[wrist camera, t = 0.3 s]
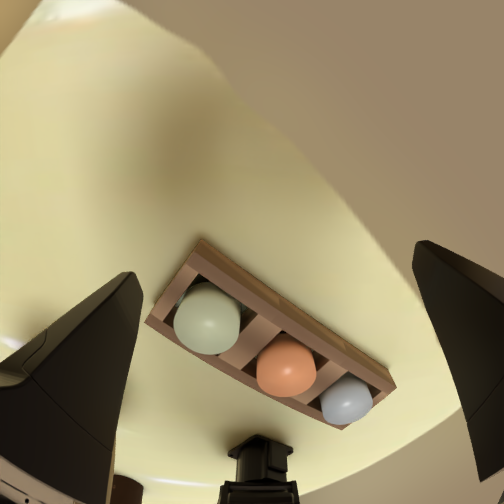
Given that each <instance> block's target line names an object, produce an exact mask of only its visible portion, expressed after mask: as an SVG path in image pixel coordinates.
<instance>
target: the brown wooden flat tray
mask: <svg viewBox="0 0 504 504" xmlns="http://www.w3.org/2000/svg"><path fill="white" fill-rule="evenodd" d="M198 273H199V274H201V275H202V276H204V277H205V278H207V279H208V280H209V281H211V282H212V283H214V284H215V285H217V286H218V287H219V288H221V289H222V290H224V291H225V292H227V293H228V294H230V295H231V296H233V297H234V298H236V299H237V300H238V301H240V302H241V303H243V304H244V305H246V306H247V307H248V308H247V310H246V311H245V312H244V313H243V314H242V315H241V318H240V328H239V335H238V338H237V341H236V342H235V344H234V345H233V346H232V347H231V348H230V349H228V350H227V351H225V352H222V353H219V354H213V355H208V354H201V353H197V352H195V351H192V350H191V349H189V348H187V347H186V346H185V345H184V344H182V342H181V341H180V340H179V339H178V337H177V335H176V333H175V331H174V317H175V315H176V313H177V310H178V308H176V307H175V306H174V305H175V304H176V302H177V301H178V300H179V298H180V297H181V296H182V294H183V293H184V292H185V290H186V289H187V288H188V286H189V285H190V284H191V282H192V281H193V280H194V278H195V277H196V276H197V274H198ZM144 323H146V324H147V325H149V326H150V327H151V328H153V329H154V330H156V331H157V332H159V333H160V334H162V335H163V336H165V337H166V338H168V339H170V340H171V341H173V342H174V343H176V344H177V345H179V346H180V347H182V348H184V349H185V350H187V351H188V352H190V353H192V354H193V355H195V356H197V357H198V358H200V359H201V360H203V361H205V362H206V363H208V364H210V365H212V366H213V367H215V368H217V369H218V370H220V371H222V372H224V373H225V374H227V375H229V376H231V377H232V378H234V379H236V380H238V381H240V382H242V383H243V384H245V385H247V386H249V387H251V388H253V389H255V390H256V391H258V392H260V393H262V394H264V395H266V396H268V397H270V398H272V399H274V400H276V401H278V402H280V403H282V404H284V405H286V406H288V407H290V408H292V409H295V410H297V411H299V412H301V413H303V414H305V415H307V416H310V417H312V418H314V419H316V420H319V421H321V422H323V423H325V424H328V425H330V426H332V427H335V428H337V429H340V430H343V429H344V428H346V427H347V426H348V425H350V424H351V423H349V424H343V425H336V424H331V423H329V422H327V421H326V420H325V419H324V417H323V412H322V408H321V403H320V398H319V394H321V393H322V392H323V391H324V390H326V389H327V388H328V387H329V386H330V385H332V384H333V383H334V382H335V381H336V380H338V379H339V378H340V377H341V376H342V375H343V374H345V373H346V372H347V371H349V372H351V373H352V374H354V375H356V376H357V377H359V378H361V379H362V380H364V381H365V382H366V384H367V387H368V389H369V392H370V394H371V397H372V400H373V405H372V408H373V407H374V406H375V405H376V404H378V403H379V402H380V401H381V400H383V399H384V398H385V397H386V396H388V395H389V394H390V393H391V392H392V391H394V390H395V389H396V388H397V387H396V385H395V383H394V381H393V379H392V377H391V375H390V373H389V370H388V369H386V368H385V367H383V366H382V365H380V364H379V363H377V362H376V361H374V360H373V359H371V358H370V357H368V356H367V355H366V354H364V353H363V352H361V351H360V350H358V349H357V348H355V347H354V346H352V345H351V344H349V343H348V342H346V341H345V340H344V339H342V338H341V337H339V336H338V335H336V334H335V333H333V332H332V331H330V330H329V329H328V328H326V327H325V326H323V325H322V324H320V323H319V322H317V321H316V320H315V319H313V318H312V317H310V316H309V315H307V314H306V313H305V312H303V311H302V310H300V309H299V308H297V307H296V306H295V305H293V304H292V303H290V302H289V301H287V300H286V299H285V298H283V297H282V296H280V295H279V294H277V293H276V292H275V291H273V290H272V289H270V288H269V287H268V286H266V285H265V284H263V283H262V282H261V281H259V280H258V279H256V278H255V277H253V276H252V275H251V274H249V273H248V272H246V271H245V270H244V269H242V268H241V267H239V266H238V265H237V264H235V263H234V262H233V261H231V260H230V259H228V258H227V257H226V256H224V255H223V254H221V253H220V252H219V251H217V250H216V249H214V248H213V247H212V246H210V245H209V244H208V243H206V242H205V241H203V240H202V239H201V240H200V242H199V243H198V245H197V246H196V247H195V249H194V250H193V251H192V253H191V254H190V256H189V257H188V258H187V260H186V261H185V262H184V264H183V265H182V267H181V268H180V269H179V271H178V272H177V274H176V275H175V276H174V278H173V279H172V281H171V282H170V284H169V285H168V286H167V288H166V289H165V291H164V292H163V294H162V295H161V296H160V298H159V299H158V301H157V302H156V304H155V305H154V307H153V308H152V310H151V312H150V313H149V315H148V317H147V318H146V320H145V322H144ZM281 330H284V331H285V332H287V333H288V334H290V335H291V336H293V337H294V338H296V339H298V340H299V341H301V342H302V343H304V344H305V345H307V346H309V347H310V348H312V349H313V350H314V351H313V352H312V355H313V359H314V364H315V368H316V379H315V381H314V383H313V384H312V386H311V387H310V388H309V389H307V390H306V391H304V392H303V393H301V394H298V395H295V396H291V397H277V396H273V395H270V394H268V393H266V392H264V391H263V390H262V389H261V388H260V386H259V385H258V383H257V359H256V358H255V356H256V355H257V354H258V353H259V352H260V351H261V350H262V349H263V348H264V347H265V346H266V345H267V344H268V343H269V342H270V341H271V340H272V339H273V338H274V337H275V336H276V335H277V334H278V333H279V332H280V331H281ZM352 423H353V422H352Z"/></svg>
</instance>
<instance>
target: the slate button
mask: <svg viewBox="0 0 504 504" xmlns="http://www.w3.org/2000/svg"><path fill="white" fill-rule="evenodd" d="M319 398H320V403H321V408H322V412H323V417H324V419H325V420H326V421H327V422H329V423H331V424H336V425H343V424H349V423H352V422H355V421H357V420H359V419H361V418H362V417H364V416H365V415H366V414H367V413H368V412H369V411H370V409H371V408H372V405H373V400H372V397H371V394H370V392H369V389H368V387H367V384H366V382H365V381H364V380H362V379H361V378H359V377H357V376H356V375H354V374H352V373H351V372H349V371H347V372H346V373H345V374H343V375H342V376H341V377H340V378H339V379H338V380H336V381H335V382H334V383H333V384H332V385H330V386H329V387H328V388H327V389H326V390H324V391H323V392H322V393H321V394H319Z"/></svg>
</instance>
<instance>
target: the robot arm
mask: <svg viewBox="0 0 504 504" xmlns="http://www.w3.org/2000/svg"><path fill="white" fill-rule="evenodd" d="M412 269H413V273H414V276H415V278H416V281H417V284H418V287H419V290H420V293H421V296H422V299H423V302H424V305H425V308H426V311H427V313H428V315H429V318H430V320H431V322H432V325H433V327H434V330H435V332H436V334H437V337H438V339H439V342H440V345H441V347H442V350H443V352H444V355H445V358H446V360H447V363H448V366H449V369H450V372H451V374H452V377H453V380H454V383H455V386H456V389H457V392H458V396H459V399H460V402H461V405H462V408H463V412H464V415H465V419H466V422H467V427H468V431H469V435H470V439H471V443H472V447H473V451H474V456H475V460H476V465H477V471H478V476H479V480H480V482H483V481H485V480H487V479H488V478H491V477H492V476H494V475H496V474H498V473H500V472H501V471H503V470H504V278H503V277H501V276H499V275H497V274H495V273H493V272H492V271H490V270H488V269H486V268H484V267H482V266H480V265H478V264H476V263H474V262H472V261H470V260H468V259H466V258H464V257H462V256H460V255H458V254H456V253H454V252H452V251H450V250H448V249H446V248H444V247H442V246H440V245H438V244H435V243H433V242H431V241H429V240H423V241H418V242H417V243H416V244H415V249H414V255H413V261H412ZM142 303H143V291H142V289H141V286H140V284H139V281H138V279H137V277H136V274H135V273H134V272H132V271H130V272H122V273H120V274H119V275H117V276H116V277H115V278H113V279H112V280H110V281H109V282H108V283H106V284H105V285H103V286H102V287H101V288H99V289H98V290H97V291H95V292H94V293H92V294H91V295H90V296H88V297H87V298H86V299H84V300H83V301H82V302H80V303H79V304H78V305H76V306H75V307H74V308H72V309H71V310H70V311H68V312H67V313H66V314H64V315H63V316H62V317H60V318H59V319H58V320H57V321H55V322H54V323H53V324H51V325H50V326H49V327H48V329H45V330H44V331H42V332H41V333H40V334H39V335H37V336H36V337H35V338H33V339H32V340H31V341H29V342H28V343H27V344H25V345H24V346H23V347H21V348H20V349H19V350H17V351H16V352H14V353H13V354H12V355H10V356H9V357H7V358H6V359H5V360H3V361H2V362H1V363H0V504H74V503H75V502H77V503H80V504H106V497H107V489H108V481H109V474H110V467H111V460H112V452H113V447H114V441H115V435H116V429H117V424H118V419H119V414H120V409H121V404H122V399H123V394H124V390H125V385H126V381H127V376H128V372H129V368H130V363H131V359H132V355H133V351H134V347H135V343H136V339H137V334H138V328H139V322H140V315H141V309H142ZM292 453H293V448H290V447H287V446H285V445H282V444H280V443H277V442H275V441H272V440H270V439H267V438H265V437H262V436H260V435H254V436H253V437H251V438H250V439H248V440H247V441H245V442H244V443H242V444H240V445H239V446H237V447H236V448H234V449H233V450H231V451H229V452H228V456H229V457H231V458H234V459H236V460H237V468H236V482H231V481H225V483H224V485H222V486H220V494H219V499H218V503H217V504H300V502H299V495H298V489H297V483H296V481H290V482H287V478H286V472H287V471H288V468H287V456H288V455H290V454H292ZM498 504H504V491H503V494H502V496H501V498H500V500H499V502H498Z"/></svg>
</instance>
